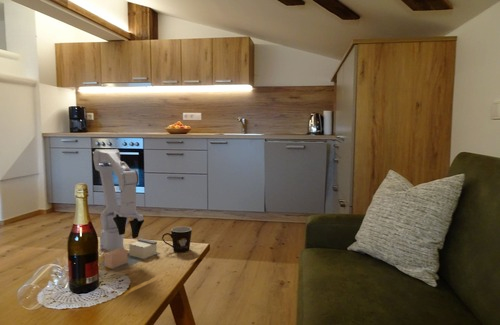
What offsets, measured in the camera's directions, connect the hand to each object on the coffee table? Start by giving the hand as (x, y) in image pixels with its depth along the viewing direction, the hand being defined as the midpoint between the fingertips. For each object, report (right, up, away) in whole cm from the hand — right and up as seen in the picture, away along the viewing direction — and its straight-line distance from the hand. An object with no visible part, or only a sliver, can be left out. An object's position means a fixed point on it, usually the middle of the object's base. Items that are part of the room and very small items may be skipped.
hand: (128, 236), depth 138 cm
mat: (+1, -10, +1) cm, 10 cm away
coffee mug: (+17, -10, +12) cm, 23 cm away
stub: (-3, -10, -6) cm, 11 cm away
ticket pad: (+4, -9, +6) cm, 11 cm away
